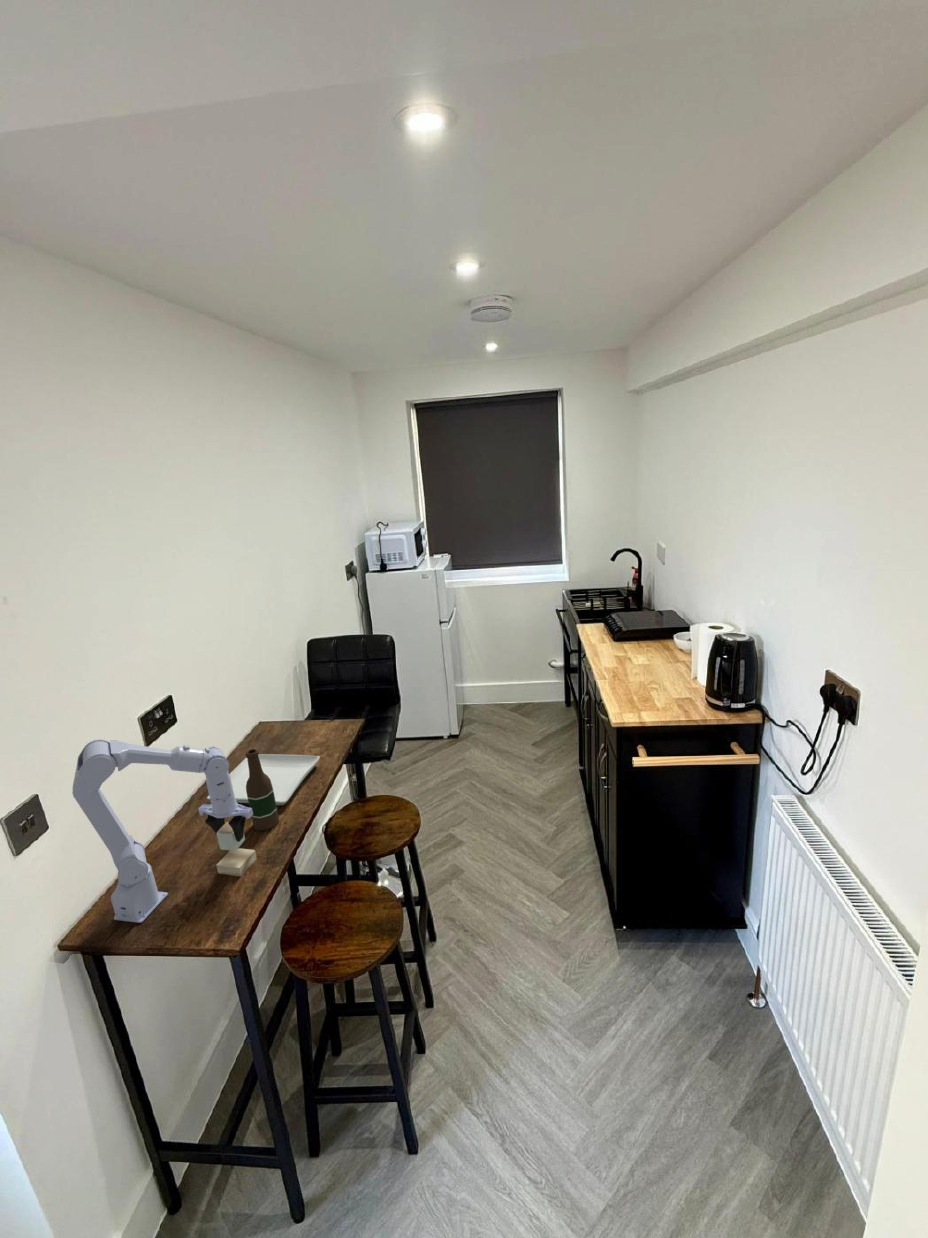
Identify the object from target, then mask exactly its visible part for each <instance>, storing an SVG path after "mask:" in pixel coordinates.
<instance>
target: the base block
mask: <svg viewBox="0 0 928 1238" xmlns="http://www.w3.org/2000/svg"><path fill="white" fill-rule="evenodd" d="M257 859H258V858H257V853H256V850H255V849H250V848H240V847H238V849H237V850H236V851H232V850H228V852H227V853H226V854H225V855H224V856H223V857H222V858H221V859H220V860H219V862H217V863H216V868H217V873H218V874H221V875H228V876H234V877H235V876H236V877H243V876H244V875H245V873H246V872H247V870H248V869H249V868H250V867H251V866H252V865H253V864H254V862H255V861H256V860H257Z"/></svg>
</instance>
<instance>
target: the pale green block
mask: <svg viewBox="0 0 928 1238" xmlns="http://www.w3.org/2000/svg"><path fill="white" fill-rule="evenodd" d="M216 837H217V841H218V846H219V849H220V850H222V851H230V850H232V851H236V850H237V849H238V848H240V847H241V846H242V844H243V843H244V841H245V840H246V837H245V835H244V836H243V838H242V839H241V841H240V842H237V840H236V838H235V835H234V831H233V829H232V828H231V826H230V825H229V821H226V822H225V824H224V825H223V826H222V827H221V828H220V829H219V830H218V832H217V835H216Z"/></svg>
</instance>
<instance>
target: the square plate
mask: <svg viewBox="0 0 928 1238" xmlns="http://www.w3.org/2000/svg"><path fill="white" fill-rule="evenodd" d="M258 756H259V760H260V764H261V767H262V770H263V772H264V773H265V774H266V775H267V776H268V777H269V778H270V780H271V783H272V787H273V791H274V796H275V801H276V806H283V805H285V804H287V802H289V800H290V798H291V797H292V796H293V794H294V793H295V791H296V790H297V789H298V788H299V786H300V785H301V783H302V782H303V780H305V778H306V777H307V776H308V774H309V773H310V772H311V771H312V770H313V768H315V765H316V764H317V763H318V762H319V760H320V759H321V758H320V757H321V756H319V755H304V754H303V755H302V754H278V753H277V754H274V753H270V754H269V753H268V754H267V753H266V754H265V753H263V754H262V753H259V755H258ZM229 774H230V778H231V783H232V787H233V792H234V796H235V800H237V803H238V804H239V803H240V804H249V802H248V798H247V792H246V783H247V780H248V778H249V767H248V759H247V758H246V757H245V758H244V759H243V760H242V761H241V762H240V763H239V764H238V765H237V766H236V767H235V768H234V769H233V770H232V771H231V772H230V773H229ZM206 799H207V800H209V801H210V797H209V795H208V796H206Z"/></svg>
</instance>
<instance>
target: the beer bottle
mask: <svg viewBox="0 0 928 1238" xmlns="http://www.w3.org/2000/svg"><path fill="white" fill-rule="evenodd" d="M259 754H260V752H259V750H258V749H257V748H252V749H249V750H246V752H245V758H247V759H248V767H249V778H248V780H247V783H246V792H247V798H248V802H249V803H248V806H249V807H248V808H252V811H253V815H252V816H251V821H252V824H253V828H254V830H257V831H262V832H263V831H264V832H265V831H267V830H271V829H273V828H274V827H275V826H276V825H278V823H280V817H279V813H278V807H277V806H278V805H276V801H275V796H274V791H273V787H272V783H271V780H270V778H269V777H268V776H267V775H266V774H265V773H264V772H263V770H262V767H261V764H260V760H259V756H258V755H259Z"/></svg>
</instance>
